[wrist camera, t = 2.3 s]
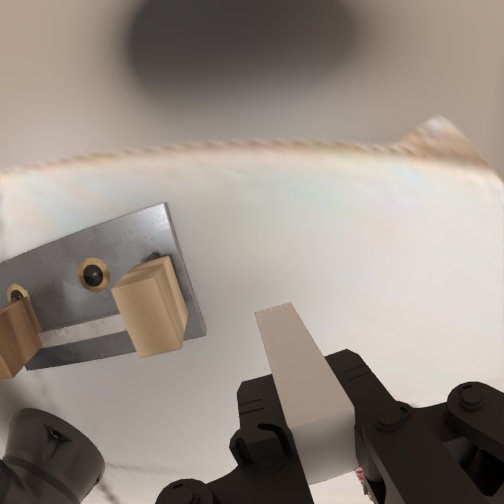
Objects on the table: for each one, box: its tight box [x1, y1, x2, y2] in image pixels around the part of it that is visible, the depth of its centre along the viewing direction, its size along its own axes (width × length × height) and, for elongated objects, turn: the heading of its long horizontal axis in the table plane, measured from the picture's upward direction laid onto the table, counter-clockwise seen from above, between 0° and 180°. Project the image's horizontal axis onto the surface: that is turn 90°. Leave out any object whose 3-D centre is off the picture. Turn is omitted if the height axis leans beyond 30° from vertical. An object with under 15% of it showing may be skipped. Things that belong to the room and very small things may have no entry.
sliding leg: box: [111, 253, 188, 358], centre depth 21 cm, size 3×5×7 cm, turn 15°
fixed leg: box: [0, 296, 43, 379], centre depth 21 cm, size 3×5×7 cm, turn 15°
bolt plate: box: [0, 203, 206, 371], centre depth 25 cm, size 22×12×2 cm, turn 105°
